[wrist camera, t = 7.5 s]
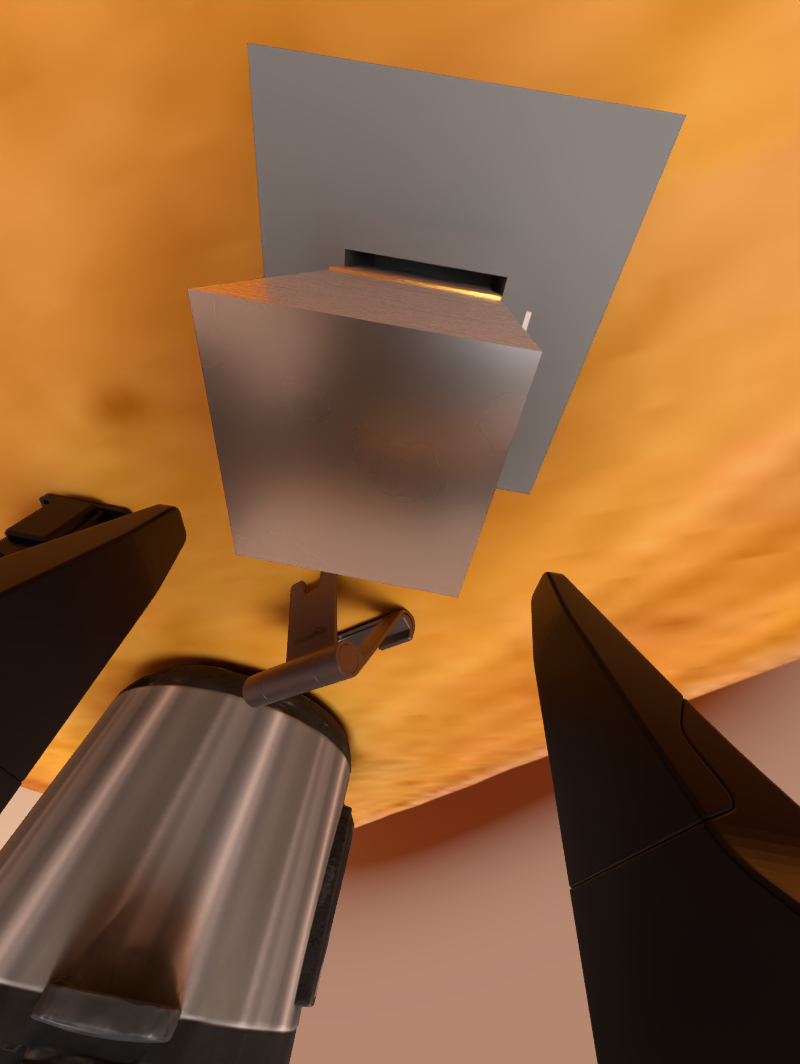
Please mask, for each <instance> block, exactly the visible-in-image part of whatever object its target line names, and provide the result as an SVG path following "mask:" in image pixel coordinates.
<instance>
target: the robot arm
mask: <svg viewBox="0 0 800 1064" xmlns="http://www.w3.org/2000/svg"><path fill="white" fill-rule="evenodd" d="M39 500H40V502H41V504H42V506H43V507H42V508H41V509H39V510H38V511H36V512H34V513H33V514H31V515H29V516H28V517H26V518H24V519H23V520H21V521H20V522H18V523H16V524H15V525H13V526H11V527H10V528H8V529H7V530H6V531H5V535H6V537H5V538H3V539H2V540H0V814H1V812H2V811H3V809H4V808H5V807H6V805H7V804H8V802H9V801H10V800H11V798H12V797H13V795H14V794H15V793H16V791H17V790H18V788H19V787H20V785H21V784H22V783H21V782H22V781H23V780H24V779H25V778H26V777H27V775H28V774H29V772H30V771H31V770H32V768H33V767H34V765H35V764H36V763H37V761H38V760H39V758H40V757H41V755H42V754H43V753H44V751H45V750H46V748H47V747H48V746H49V744H50V743H51V741H52V740H53V739H54V737H55V736H56V734H57V733H58V732H59V730H60V729H61V727H62V726H63V724H64V723H65V722H66V720H67V719H68V717H69V716H70V715H71V713H72V712H73V710H74V709H75V708H76V706H77V705H78V703H79V702H80V701H81V699H82V698H83V696H84V695H85V694H86V692H87V691H88V689H89V688H90V686H91V685H92V684H93V682H94V681H95V679H96V678H97V677H98V675H99V674H100V672H101V671H102V670H103V668H104V667H105V665H106V664H107V663H108V661H109V660H110V658H111V657H112V655H113V654H114V653H115V651H116V650H117V648H118V647H119V646H120V644H121V643H122V641H123V640H124V639H125V637H126V636H127V634H128V633H129V632H130V630H131V629H132V627H133V626H134V624H135V623H136V622H137V620H138V619H139V617H140V616H141V615H142V613H143V612H144V610H145V609H146V608H147V606H148V605H149V603H150V602H151V600H152V599H153V598H154V596H155V595H156V593H157V591H158V590H159V588H160V586H161V585H162V583H163V581H164V579H165V578H166V576H167V574H168V572H169V570H170V569H171V567H172V565H173V563H174V561H175V560H176V558H177V556H178V554H179V552H180V551H181V549H182V547H183V545H184V543H185V541H186V531H185V527H184V524H183V520H182V517H181V513H180V511H179V509H178V508H176V507H174V506H169V505H163V504H158V505H155V506H152V507H149V508H146V509H143V510H140V511H137V512H134V513H130V512H129V511H128V510H126V509H123V508H118V507H113V506H108V505H103V504H97V503H92V502H87V501H82V500H77V499H71V498H66V497H61V496H56V495H50V494H46V495H44V496H42V497H40V499H39ZM531 613H532V638H533V659H534V667H535V674H536V681H537V687H538V693H539V699H540V706H541V712H542V718H543V724H544V730H545V737H546V743H547V749H548V755H549V762H550V768H551V774H552V780H553V787H554V793H555V799H556V805H557V812H558V818H559V824H560V830H561V837H562V843H563V849H564V855H565V861H566V868H567V874H568V880H569V885H570V887H571V889H570V894H571V901H572V906H573V913H574V919H575V925H576V931H577V938H578V944H579V950H580V956H581V963H582V969H583V976H584V982H585V988H586V994H587V1000H588V1007H589V1013H590V1019H591V1025H592V1031H593V1038H594V1044H595V1050H596V1056H597V1062H598V1064H800V806H799V805H798V804H797V803H795V802H794V801H793V800H792V799H791V798H790V797H789V796H788V795H787V794H786V793H784V792H783V791H782V790H781V789H780V788H779V787H778V786H777V785H776V784H775V783H773V782H772V781H771V780H770V779H769V778H768V777H767V776H766V775H765V774H763V773H762V772H761V771H760V770H759V769H758V768H757V767H756V766H755V765H754V764H753V763H752V762H751V761H749V760H748V759H747V758H746V757H745V756H744V755H743V754H742V753H741V752H740V751H739V750H737V748H735V747H734V746H733V745H732V744H731V743H730V742H729V741H728V740H727V739H726V738H725V737H724V736H723V735H722V734H721V733H720V732H719V731H718V730H717V729H716V728H715V727H714V726H713V725H711V723H710V722H709V721H708V720H706V719H705V717H704V716H703V715H702V714H700V712H698V710H697V709H696V708H695V707H694V706H693V705H692V704H691V703H690V702H689V701H688V700H687V699H683V695H682V694H681V693H680V692H679V691H678V690H677V689H676V688H675V687H674V686H673V685H672V684H671V683H670V682H669V681H668V680H667V679H666V678H665V677H664V676H663V675H662V674H661V673H660V672H659V671H658V670H657V669H656V668H655V667H654V666H653V665H652V664H651V663H650V662H649V661H648V660H647V659H646V658H645V657H644V656H643V655H642V654H641V653H640V652H639V651H638V650H637V649H636V648H635V647H634V646H633V645H632V644H631V643H630V642H629V641H628V639H627V638H626V637H625V636H624V635H623V634H622V633H621V632H620V631H619V630H618V629H617V628H616V627H615V626H614V625H613V624H612V623H611V622H610V621H609V620H608V619H607V618H606V617H605V616H604V615H603V614H602V613H601V612H600V611H599V610H598V609H597V608H596V607H595V606H594V605H593V604H592V603H591V602H590V601H589V600H588V599H587V598H586V597H585V596H584V595H583V594H582V593H581V592H580V591H579V590H578V589H577V588H576V587H575V586H574V585H573V584H572V583H571V582H570V581H569V580H568V579H567V578H566V577H565V576H564V575H563V574H559V573H553V572H545V573H544V574H543V575H542V577H541V579H540V581H539V583H538V585H537V587H536V589H535V591H534V593H533V596H532V600H531Z"/></svg>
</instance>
